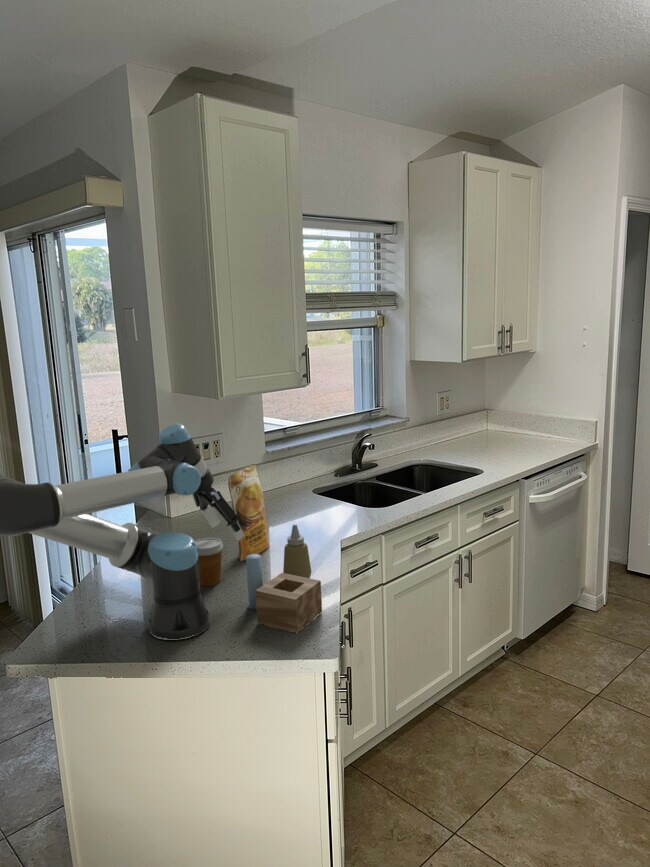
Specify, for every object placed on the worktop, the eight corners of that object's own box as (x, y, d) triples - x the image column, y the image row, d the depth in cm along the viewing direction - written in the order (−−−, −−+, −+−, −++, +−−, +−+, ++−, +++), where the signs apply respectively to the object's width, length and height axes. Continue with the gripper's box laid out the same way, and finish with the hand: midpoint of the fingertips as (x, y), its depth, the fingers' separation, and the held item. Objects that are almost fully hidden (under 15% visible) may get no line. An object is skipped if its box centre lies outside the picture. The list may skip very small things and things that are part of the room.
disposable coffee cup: (194, 590, 192) (191, 551, 189) (191, 577, 201) (188, 539, 198) (227, 585, 194) (224, 546, 192) (223, 573, 203) (220, 535, 201)
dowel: (258, 610, 178) (255, 560, 175) (246, 607, 180) (242, 558, 177) (267, 604, 181) (264, 555, 178) (255, 601, 183) (251, 553, 180)
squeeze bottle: (296, 576, 198) (293, 518, 195) (317, 583, 193) (315, 523, 189) (278, 586, 192) (274, 526, 188) (299, 593, 187) (295, 532, 183)
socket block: (297, 633, 165) (295, 599, 163) (257, 623, 171) (255, 590, 169) (322, 612, 175) (320, 580, 173) (283, 604, 181) (281, 572, 179)
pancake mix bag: (226, 561, 212) (220, 475, 206) (259, 541, 228) (254, 461, 223) (244, 564, 209) (238, 477, 203) (276, 543, 225) (271, 462, 220)
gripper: (230, 476, 177) (261, 535, 187) (184, 457, 196) (216, 512, 206) (208, 493, 174) (241, 553, 184) (164, 472, 192) (197, 527, 203)
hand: (228, 531), depth 195 cm, fingers open, 13 cm apart
